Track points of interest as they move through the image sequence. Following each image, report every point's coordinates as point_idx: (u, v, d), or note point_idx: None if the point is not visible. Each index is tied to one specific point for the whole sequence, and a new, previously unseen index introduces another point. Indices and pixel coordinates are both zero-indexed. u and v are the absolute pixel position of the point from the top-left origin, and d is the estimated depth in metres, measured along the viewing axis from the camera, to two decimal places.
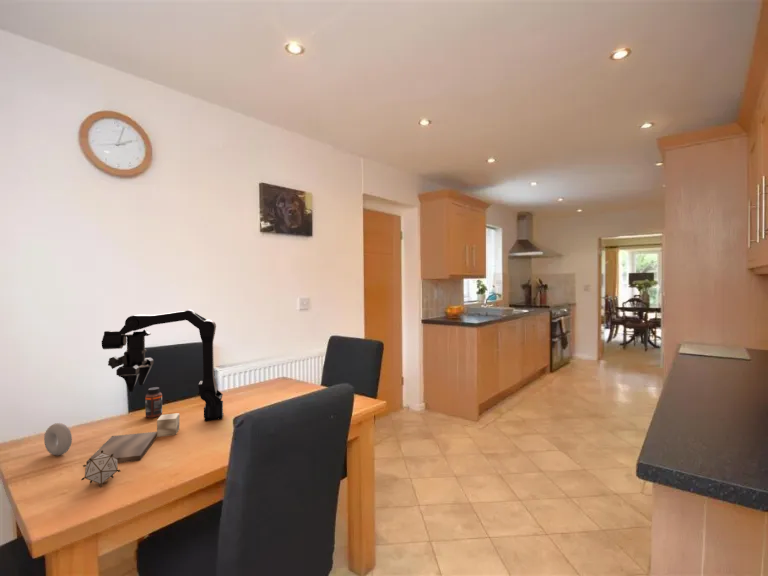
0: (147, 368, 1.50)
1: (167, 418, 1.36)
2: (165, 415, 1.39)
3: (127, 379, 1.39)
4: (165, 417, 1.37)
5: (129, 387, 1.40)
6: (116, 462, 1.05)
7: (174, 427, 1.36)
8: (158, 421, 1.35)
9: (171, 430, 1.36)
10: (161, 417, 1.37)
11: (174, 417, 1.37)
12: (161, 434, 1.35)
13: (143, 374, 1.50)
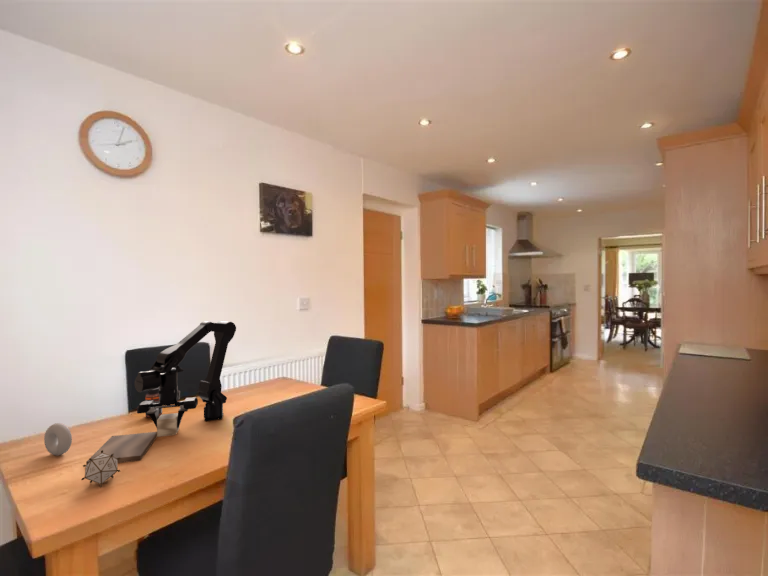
0: (178, 411, 1.37)
1: (167, 418, 1.36)
2: (165, 415, 1.39)
3: None
4: (165, 417, 1.37)
5: None
6: (116, 462, 1.05)
7: (174, 427, 1.36)
8: (158, 421, 1.35)
9: (171, 430, 1.36)
10: (161, 417, 1.37)
11: (174, 417, 1.37)
12: (161, 433, 1.35)
13: (178, 416, 1.39)
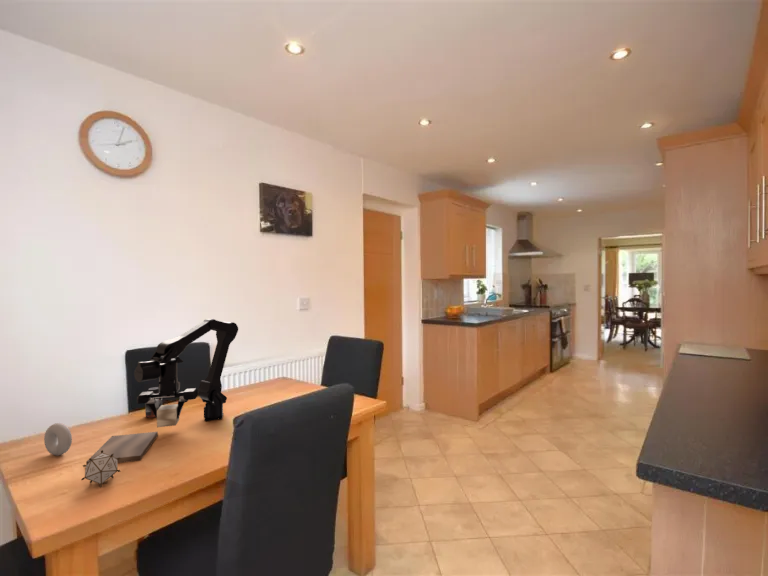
0: (178, 402, 1.37)
1: (167, 409, 1.36)
2: (165, 406, 1.39)
3: None
4: (164, 408, 1.37)
5: None
6: (116, 462, 1.05)
7: (174, 417, 1.36)
8: (158, 411, 1.35)
9: (171, 420, 1.36)
10: (161, 407, 1.37)
11: (174, 408, 1.37)
12: (161, 424, 1.35)
13: (178, 407, 1.38)
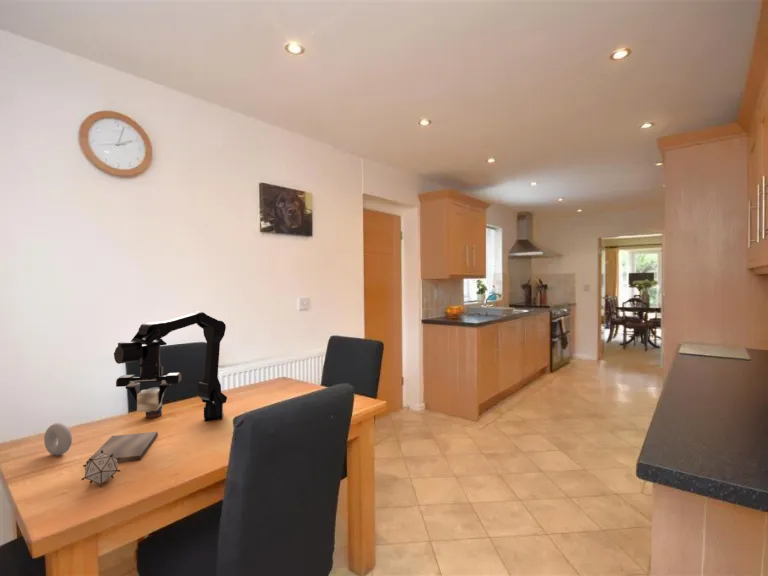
0: (160, 386, 1.31)
1: (148, 393, 1.29)
2: (146, 390, 1.33)
3: None
4: (145, 392, 1.30)
5: None
6: (116, 462, 1.05)
7: (155, 402, 1.30)
8: (138, 395, 1.28)
9: (152, 405, 1.29)
10: (142, 392, 1.31)
11: (156, 392, 1.30)
12: (141, 408, 1.28)
13: None
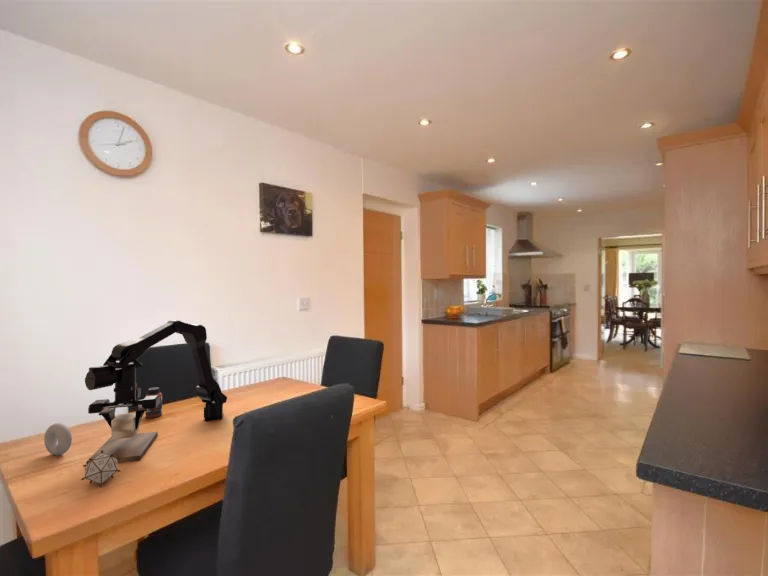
0: None
1: (123, 419, 1.22)
2: (122, 415, 1.25)
3: None
4: (121, 418, 1.22)
5: None
6: (116, 462, 1.05)
7: (131, 428, 1.22)
8: (113, 422, 1.20)
9: (128, 432, 1.22)
10: (117, 417, 1.23)
11: (132, 418, 1.23)
12: (116, 436, 1.21)
13: None
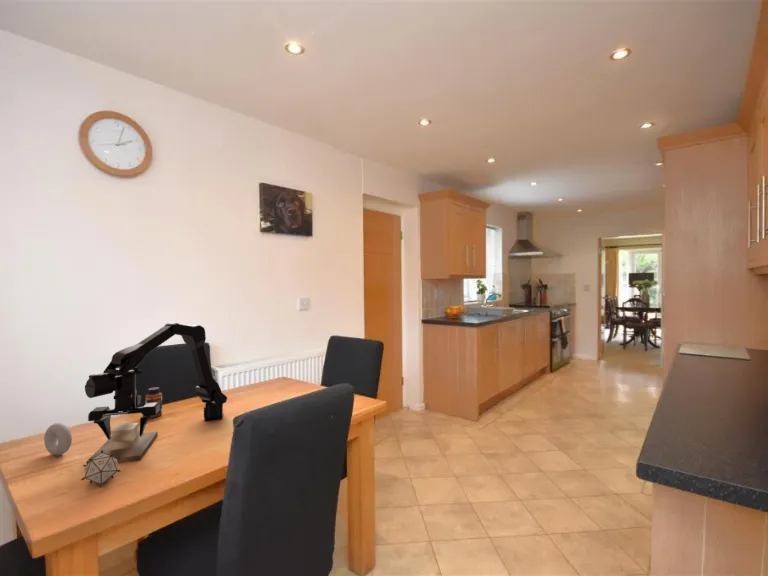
0: None
1: (123, 429, 1.22)
2: (122, 425, 1.25)
3: None
4: (121, 428, 1.22)
5: None
6: (116, 462, 1.05)
7: (131, 439, 1.22)
8: (112, 432, 1.20)
9: (127, 442, 1.22)
10: (117, 427, 1.23)
11: (132, 428, 1.23)
12: (116, 446, 1.21)
13: None
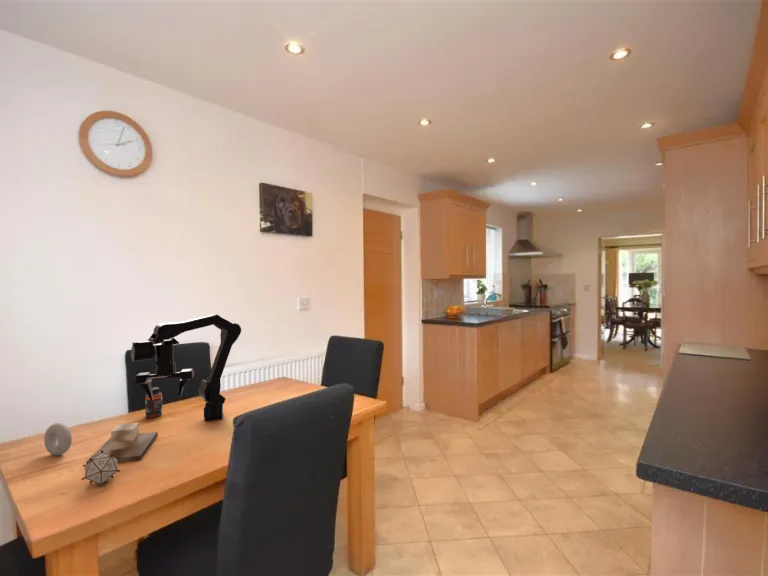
0: None
1: (123, 429, 1.22)
2: (122, 425, 1.25)
3: None
4: (121, 428, 1.22)
5: None
6: (116, 462, 1.05)
7: (131, 439, 1.22)
8: (112, 432, 1.20)
9: (127, 442, 1.22)
10: (117, 427, 1.23)
11: (132, 428, 1.23)
12: (116, 446, 1.21)
13: None
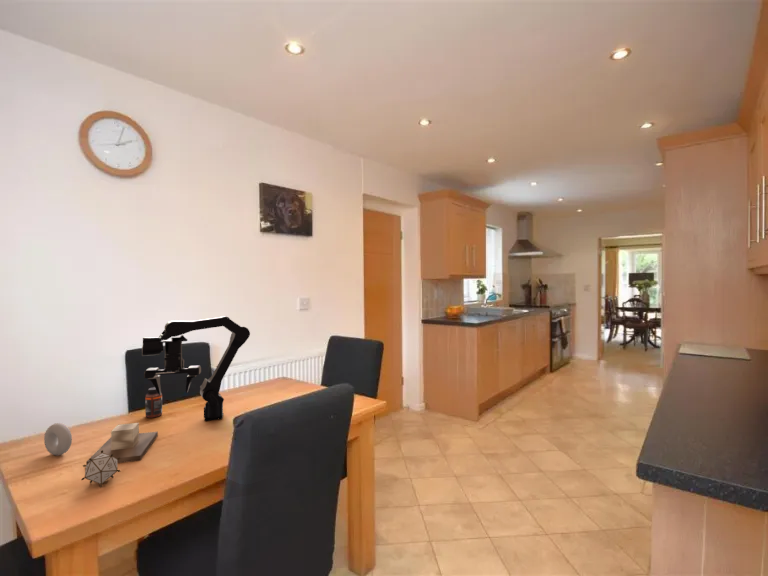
0: (187, 377, 1.45)
1: (123, 429, 1.22)
2: (122, 425, 1.25)
3: None
4: (121, 428, 1.22)
5: None
6: (116, 462, 1.05)
7: (131, 439, 1.22)
8: (112, 432, 1.20)
9: (127, 442, 1.22)
10: (117, 427, 1.23)
11: (132, 428, 1.23)
12: (116, 446, 1.21)
13: None
